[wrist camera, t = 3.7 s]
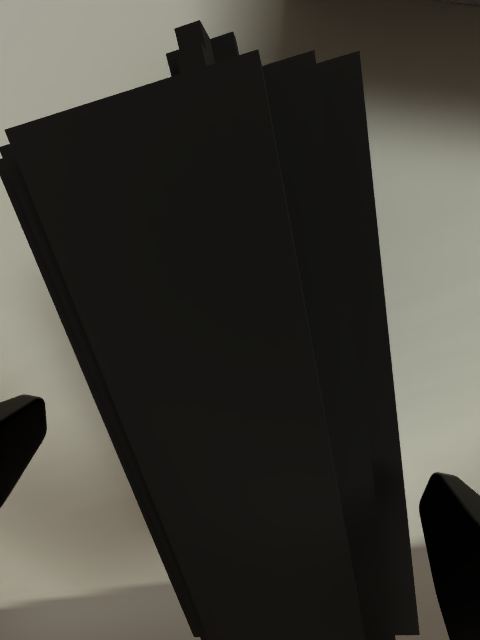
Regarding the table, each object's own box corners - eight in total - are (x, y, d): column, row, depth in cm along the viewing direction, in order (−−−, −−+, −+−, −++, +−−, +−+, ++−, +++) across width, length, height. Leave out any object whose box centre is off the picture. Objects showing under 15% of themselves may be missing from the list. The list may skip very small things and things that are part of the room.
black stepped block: (303, 26, 13) (349, -387, 3) (364, 453, 19) (441, 722, 9) (121, 85, 14) (-202, -99, 5) (233, 466, 20) (188, 714, 11)
